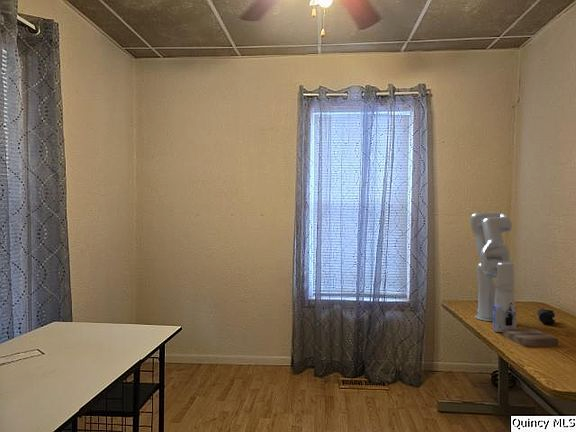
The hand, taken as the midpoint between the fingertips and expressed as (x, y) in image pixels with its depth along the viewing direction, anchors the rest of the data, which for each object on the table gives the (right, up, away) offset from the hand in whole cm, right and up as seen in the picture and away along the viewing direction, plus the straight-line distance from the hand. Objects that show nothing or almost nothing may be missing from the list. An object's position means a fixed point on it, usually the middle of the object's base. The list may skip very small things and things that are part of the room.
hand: (504, 323), depth 208 cm
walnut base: (+4, -4, -14) cm, 15 cm away
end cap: (+31, -5, +18) cm, 36 cm away
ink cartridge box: (0, -4, 0) cm, 4 cm away
